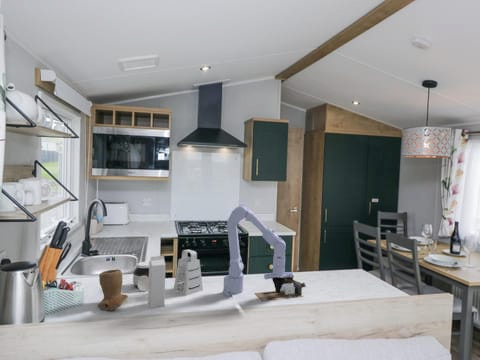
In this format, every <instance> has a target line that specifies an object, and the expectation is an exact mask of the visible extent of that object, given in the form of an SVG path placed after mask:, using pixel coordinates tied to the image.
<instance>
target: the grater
mask: <svg viewBox="0 0 480 360" xmlns="http://www.w3.org/2000/svg"><path fill="white" fill-rule="evenodd" d="M189 253H190V256H188V254H189ZM200 261H201V260H200V259H198V253H197V251H195V250H192V249H183V250H182V252H181V258H179V259H178V262H177V267H176V273H175V278H174V285H173V290H174V291H176V292H177V293H180V294H181V295H183V296H190V295H193V294H197V293H198V292H202V291H203V290H204V288H203V280H202V270H201V262H200Z"/></svg>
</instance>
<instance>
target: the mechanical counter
mask: <svg viewBox="0 0 480 360" xmlns="http://www.w3.org/2000/svg"><path fill="white" fill-rule="evenodd" d="M294 277H295V276H294V275H293V277H284V279H285V282H284V283H283V284H289V283H290V284H291V285H292V284H293V281H296V280H294ZM297 282H298V283H300V284H301V285H302V288H306V283H305V282H299V281H297Z"/></svg>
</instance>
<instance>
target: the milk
mask: <svg viewBox="0 0 480 360" xmlns="http://www.w3.org/2000/svg"><path fill="white" fill-rule="evenodd" d="M148 262H149V289H148V290H147V291H148V293H147V296H148V297H147V304H148V305H149V307H150V308H151V309H154V308H160V307H161V308H162V307H165V299H166V298H165V297H166V296H165V295H166V265H167V264H166V260H165V256H164V255H156V256H155V255H154V256H150V261H148Z"/></svg>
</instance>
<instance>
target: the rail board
mask: <svg viewBox="0 0 480 360" xmlns="http://www.w3.org/2000/svg"><path fill="white" fill-rule="evenodd" d="M298 282H299V281H297V280H295V281H293V283H292V285H293V286H294V287H295V286H296V287H297V290H295V293H294V295H286V296H285V295H284V294H282V293H281V290H280V293H277V292H276V290H273V291H263V292H254V295H255V296H256V297H257V298H258V299H259V300H260V301H261V302H267V301H277V300H286V299H287V300H288V299H298V298H304V295H303V294H302V291H303V287H302V285H301V284H300V283H301V282H300V283H298Z"/></svg>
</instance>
